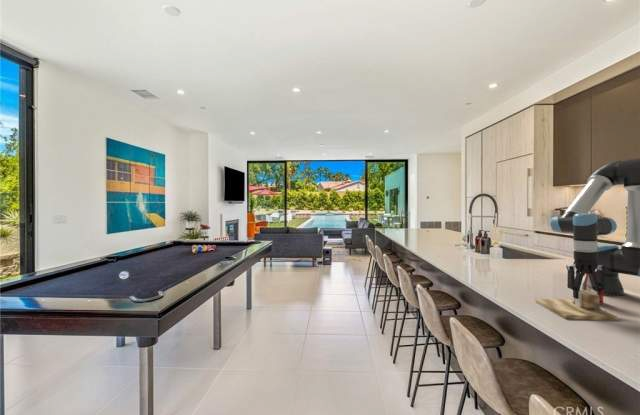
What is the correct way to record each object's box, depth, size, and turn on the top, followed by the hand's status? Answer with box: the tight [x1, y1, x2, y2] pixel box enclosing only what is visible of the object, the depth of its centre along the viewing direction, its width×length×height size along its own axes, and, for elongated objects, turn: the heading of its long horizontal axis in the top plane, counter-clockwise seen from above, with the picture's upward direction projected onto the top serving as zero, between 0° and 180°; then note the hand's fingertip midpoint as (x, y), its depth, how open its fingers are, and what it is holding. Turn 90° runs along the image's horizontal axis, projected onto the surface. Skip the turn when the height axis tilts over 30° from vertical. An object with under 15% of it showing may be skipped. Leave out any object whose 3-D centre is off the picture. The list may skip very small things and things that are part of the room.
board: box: [534, 298, 618, 321], centre depth 126 cm, size 18×20×2 cm
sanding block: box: [573, 289, 602, 311], centre depth 125 cm, size 5×8×6 cm, turn 172°
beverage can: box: [585, 269, 604, 305], centre depth 135 cm, size 6×6×15 cm
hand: (586, 306), depth 125 cm, fingers closed on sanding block, 5 cm apart
